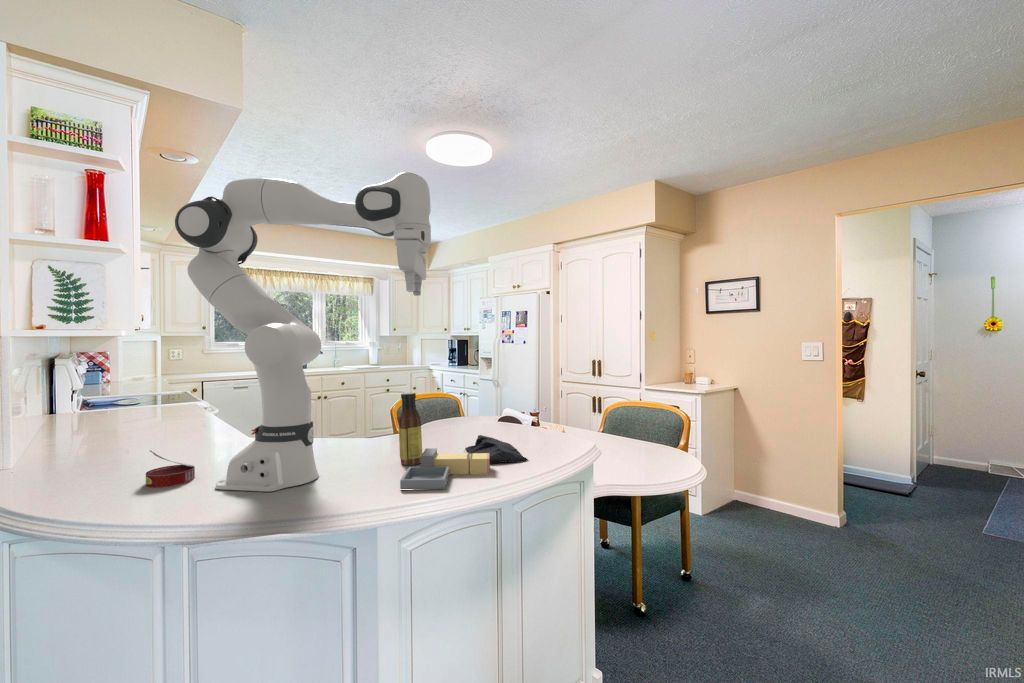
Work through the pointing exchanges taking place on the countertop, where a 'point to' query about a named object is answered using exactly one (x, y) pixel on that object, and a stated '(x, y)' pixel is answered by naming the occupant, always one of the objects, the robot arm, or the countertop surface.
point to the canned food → (170, 475)
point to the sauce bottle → (410, 431)
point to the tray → (425, 478)
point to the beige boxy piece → (446, 461)
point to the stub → (479, 463)
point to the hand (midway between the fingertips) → (413, 293)
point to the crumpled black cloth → (496, 450)
